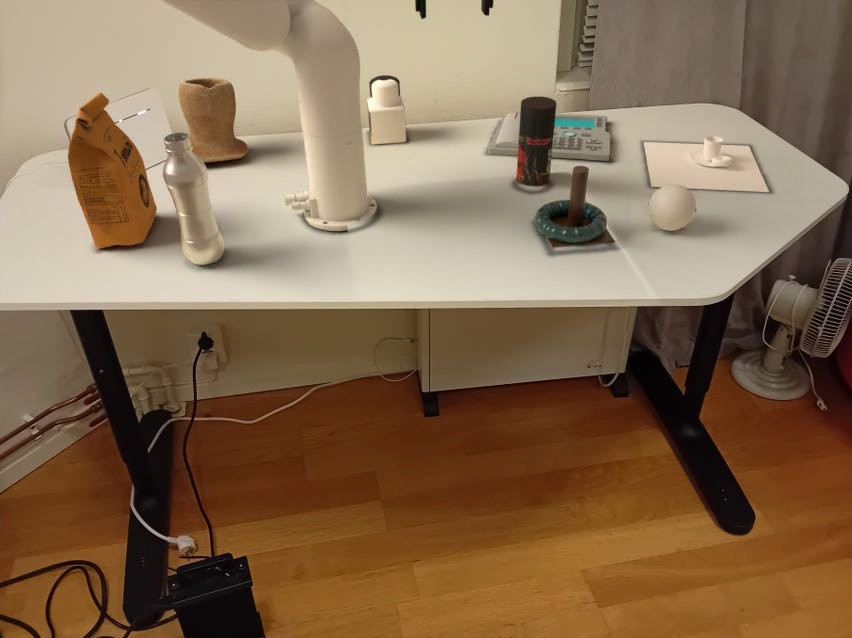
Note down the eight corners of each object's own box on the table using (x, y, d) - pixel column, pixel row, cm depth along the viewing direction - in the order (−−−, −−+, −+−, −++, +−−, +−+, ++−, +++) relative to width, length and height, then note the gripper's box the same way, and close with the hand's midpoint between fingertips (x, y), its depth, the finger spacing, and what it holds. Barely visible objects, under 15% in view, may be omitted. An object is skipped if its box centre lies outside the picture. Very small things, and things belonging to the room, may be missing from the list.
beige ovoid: (697, 238, 116) (707, 196, 112) (649, 239, 117) (658, 197, 112) (681, 209, 124) (690, 168, 120) (637, 209, 125) (644, 169, 120)
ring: (544, 248, 113) (545, 234, 111) (526, 213, 122) (527, 200, 120) (616, 241, 114) (618, 228, 112) (592, 207, 122) (594, 194, 121)
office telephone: (487, 142, 142) (502, 104, 157) (487, 155, 144) (501, 116, 159) (610, 148, 138) (613, 109, 153) (608, 161, 139) (611, 121, 154)
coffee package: (168, 214, 128) (134, 88, 114) (146, 251, 119) (106, 118, 105) (113, 215, 129) (72, 89, 115) (86, 251, 119) (38, 119, 105)
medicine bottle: (369, 131, 155) (365, 73, 147) (402, 129, 155) (400, 71, 147) (371, 145, 149) (367, 85, 141) (406, 142, 149) (404, 83, 142)
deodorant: (547, 193, 130) (555, 109, 121) (514, 191, 131) (519, 108, 122) (549, 178, 135) (557, 97, 125) (517, 176, 136) (522, 95, 126)
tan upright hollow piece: (249, 141, 152) (236, 67, 143) (248, 165, 143) (234, 88, 134) (175, 148, 151) (156, 74, 141) (169, 173, 142) (149, 95, 132)
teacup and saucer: (736, 171, 134) (741, 150, 132) (691, 169, 136) (695, 148, 133) (728, 152, 141) (733, 131, 139) (685, 150, 142) (690, 130, 140)
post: (551, 254, 114) (557, 186, 107) (535, 223, 122) (540, 158, 115) (613, 248, 115) (624, 180, 108) (593, 218, 123) (602, 152, 115)
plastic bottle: (189, 273, 113) (156, 150, 100) (182, 253, 118) (149, 133, 105) (231, 263, 115) (203, 141, 102) (222, 244, 120) (194, 125, 107)
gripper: (395, -113, 97) (399, 24, 108) (522, -118, 98) (514, 18, 109) (391, -119, 103) (395, 11, 114) (511, -124, 104) (505, 6, 115)
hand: (454, 14), depth 112 cm, fingers open, 9 cm apart
